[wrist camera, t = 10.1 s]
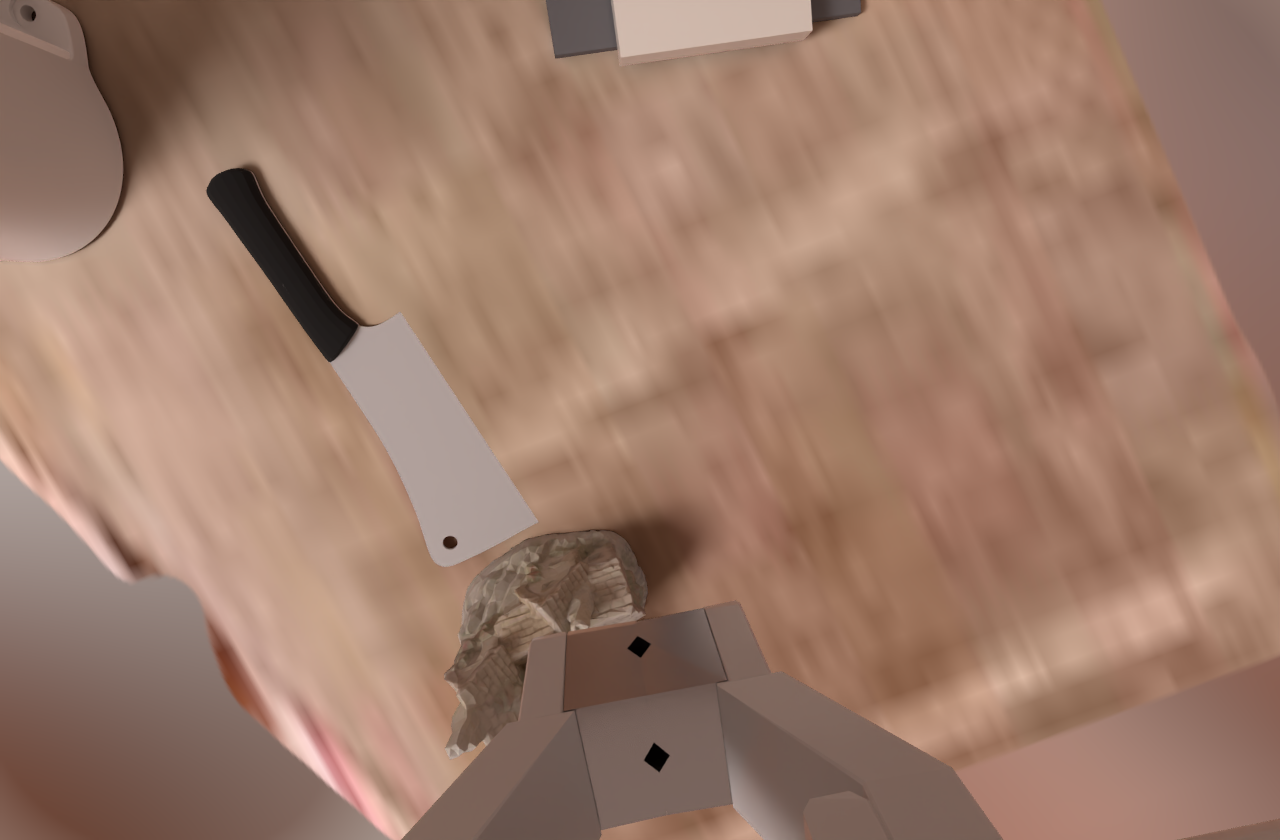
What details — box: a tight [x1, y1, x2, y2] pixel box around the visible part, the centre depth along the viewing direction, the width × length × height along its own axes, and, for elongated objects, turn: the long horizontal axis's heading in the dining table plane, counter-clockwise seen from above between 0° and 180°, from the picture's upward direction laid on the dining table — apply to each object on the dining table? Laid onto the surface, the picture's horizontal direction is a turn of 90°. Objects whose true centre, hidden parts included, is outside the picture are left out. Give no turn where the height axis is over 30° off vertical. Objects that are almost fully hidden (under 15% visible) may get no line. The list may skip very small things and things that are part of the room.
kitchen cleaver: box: [207, 168, 538, 567], centre depth 43 cm, size 31×2×10 cm
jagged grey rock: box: [444, 530, 648, 760], centre depth 43 cm, size 16×16×15 cm
